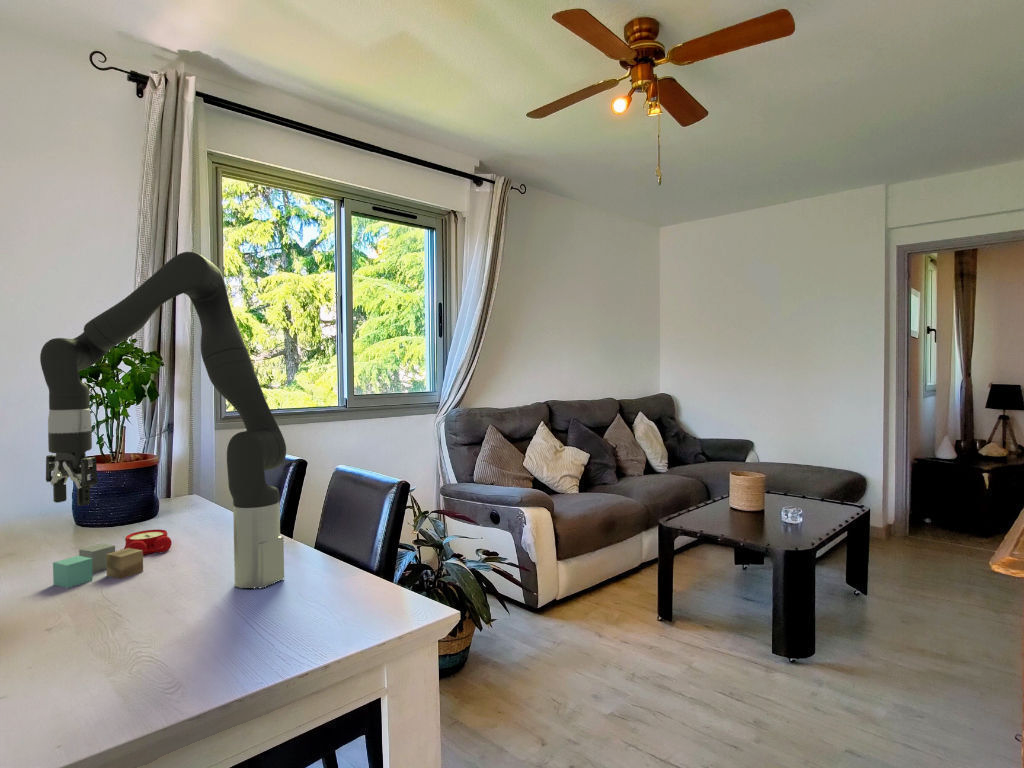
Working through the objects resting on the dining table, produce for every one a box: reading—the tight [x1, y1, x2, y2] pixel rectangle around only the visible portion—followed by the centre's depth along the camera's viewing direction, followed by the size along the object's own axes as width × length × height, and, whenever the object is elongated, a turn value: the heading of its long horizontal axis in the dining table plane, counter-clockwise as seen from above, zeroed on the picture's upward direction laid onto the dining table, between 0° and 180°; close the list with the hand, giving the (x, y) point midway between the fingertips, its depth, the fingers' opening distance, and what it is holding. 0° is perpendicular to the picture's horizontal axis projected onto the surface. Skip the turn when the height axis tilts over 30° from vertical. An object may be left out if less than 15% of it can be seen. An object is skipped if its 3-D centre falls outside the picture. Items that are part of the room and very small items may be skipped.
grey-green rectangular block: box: [78, 542, 116, 574], centre depth 134 cm, size 5×5×5 cm
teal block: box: [52, 555, 94, 589], centre depth 124 cm, size 5×5×5 cm
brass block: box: [106, 548, 144, 580], centre depth 130 cm, size 5×5×5 cm
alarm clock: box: [123, 529, 172, 556], centre depth 147 cm, size 10×6×15 cm
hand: (71, 503), depth 124 cm, fingers open, 8 cm apart
